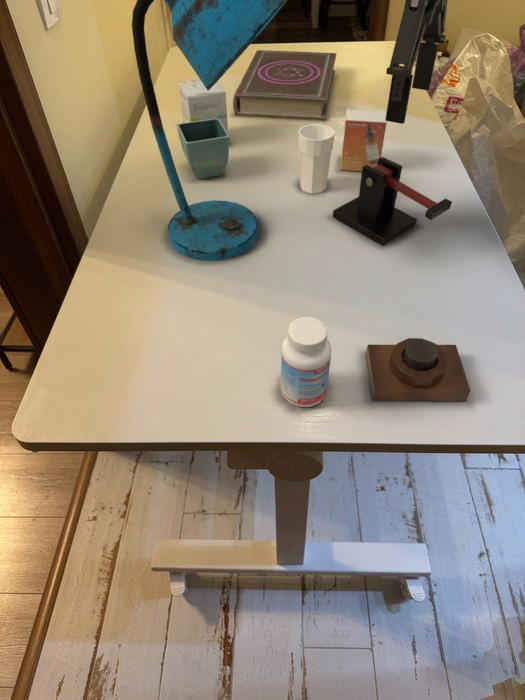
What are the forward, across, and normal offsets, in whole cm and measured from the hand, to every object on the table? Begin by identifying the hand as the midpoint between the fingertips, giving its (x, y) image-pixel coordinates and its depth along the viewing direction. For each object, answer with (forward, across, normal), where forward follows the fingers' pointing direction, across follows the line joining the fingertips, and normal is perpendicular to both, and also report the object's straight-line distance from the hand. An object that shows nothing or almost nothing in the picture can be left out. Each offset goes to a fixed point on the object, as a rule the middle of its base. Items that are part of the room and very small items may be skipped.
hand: (408, 104), depth 81 cm
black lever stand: (+20, +3, -2) cm, 20 cm away
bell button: (+17, +35, +15) cm, 42 cm away
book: (+20, -43, -41) cm, 63 cm away
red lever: (+13, +5, +3) cm, 14 cm away
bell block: (+20, +35, +15) cm, 43 cm away
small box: (+20, -16, -11) cm, 28 cm away
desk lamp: (+20, +18, -24) cm, 36 cm away
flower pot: (+20, +1, -39) cm, 44 cm away
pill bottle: (+20, +44, +3) cm, 49 cm away
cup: (+20, -4, -17) cm, 26 cm away
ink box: (+20, -12, -46) cm, 52 cm away
